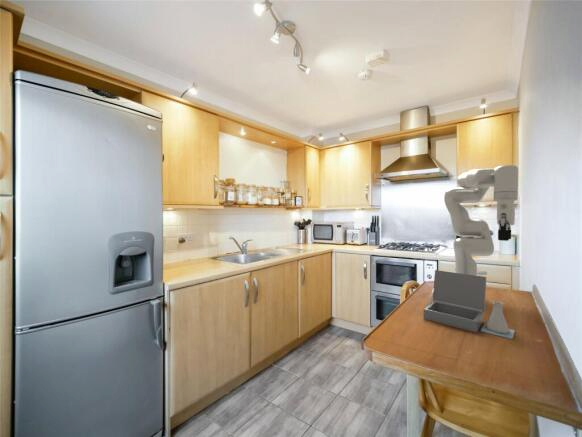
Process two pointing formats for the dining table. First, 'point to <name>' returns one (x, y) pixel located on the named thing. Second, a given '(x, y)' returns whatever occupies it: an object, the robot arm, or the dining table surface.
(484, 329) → the mat
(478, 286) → the lid and stay
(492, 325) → the flask
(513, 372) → the dining table surface
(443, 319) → the case
